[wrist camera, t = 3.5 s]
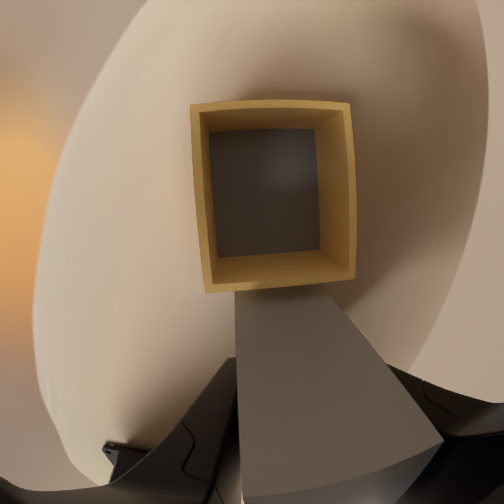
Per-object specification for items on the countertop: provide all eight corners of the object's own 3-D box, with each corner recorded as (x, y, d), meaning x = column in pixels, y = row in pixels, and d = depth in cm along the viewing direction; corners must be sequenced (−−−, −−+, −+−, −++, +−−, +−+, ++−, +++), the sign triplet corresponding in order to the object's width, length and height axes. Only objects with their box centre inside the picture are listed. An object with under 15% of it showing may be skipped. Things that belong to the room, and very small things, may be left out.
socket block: (321, 252, 11) (355, 278, 8) (213, 261, 11) (205, 293, 8) (316, 125, 10) (349, 103, 7) (203, 129, 10) (189, 105, 7)
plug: (310, 361, 11) (377, 520, 3) (242, 368, 11) (257, 546, 3) (313, 276, 10) (444, 440, 2) (234, 283, 10) (243, 497, 2)
